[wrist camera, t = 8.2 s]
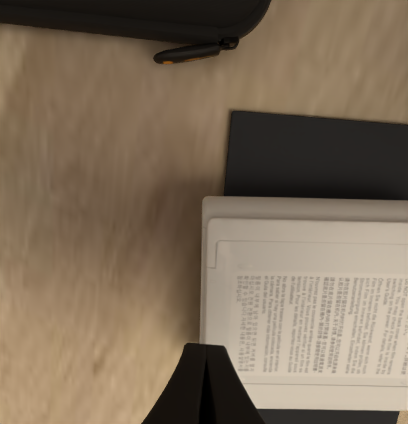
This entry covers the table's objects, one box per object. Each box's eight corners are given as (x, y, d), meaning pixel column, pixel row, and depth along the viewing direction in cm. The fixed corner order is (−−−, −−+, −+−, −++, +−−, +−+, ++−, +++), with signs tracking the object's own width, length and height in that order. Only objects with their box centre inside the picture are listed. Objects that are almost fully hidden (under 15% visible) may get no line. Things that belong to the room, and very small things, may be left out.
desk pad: (469, 130, 16) (475, 130, 16) (385, 448, 21) (388, 454, 20) (231, 111, 16) (232, 110, 15) (200, 434, 20) (200, 440, 20)
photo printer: (198, 360, 19) (407, 361, 19) (197, 425, 15) (465, 427, 15) (199, 188, 16) (441, 190, 16) (198, 208, 12) (523, 211, 12)
